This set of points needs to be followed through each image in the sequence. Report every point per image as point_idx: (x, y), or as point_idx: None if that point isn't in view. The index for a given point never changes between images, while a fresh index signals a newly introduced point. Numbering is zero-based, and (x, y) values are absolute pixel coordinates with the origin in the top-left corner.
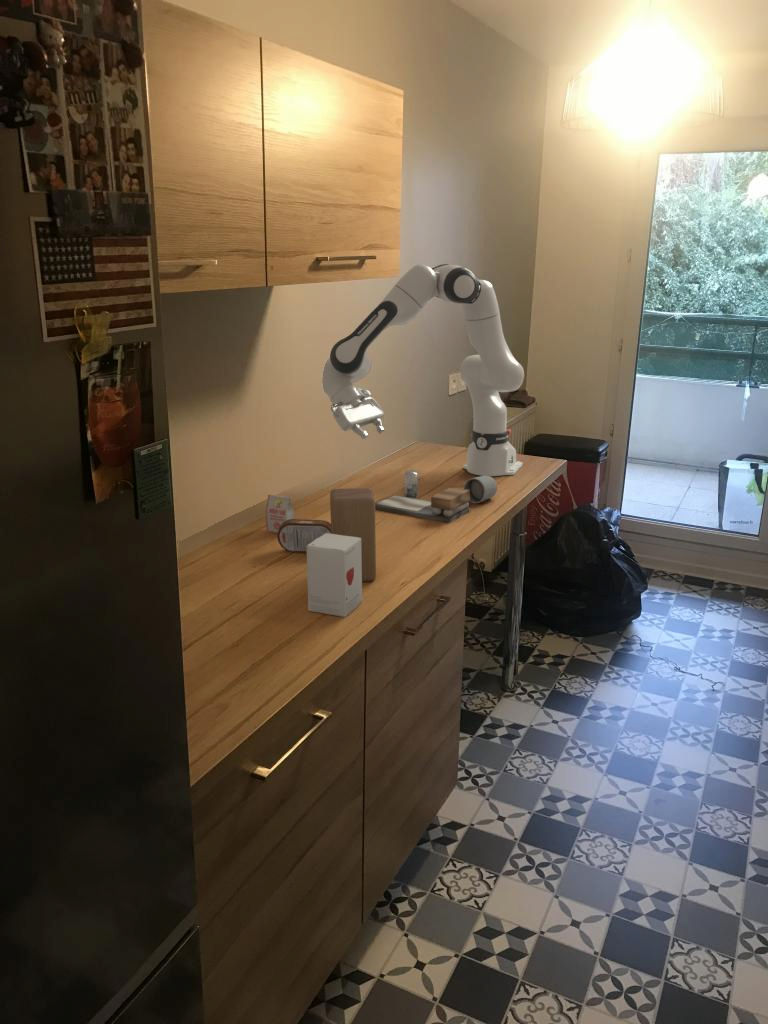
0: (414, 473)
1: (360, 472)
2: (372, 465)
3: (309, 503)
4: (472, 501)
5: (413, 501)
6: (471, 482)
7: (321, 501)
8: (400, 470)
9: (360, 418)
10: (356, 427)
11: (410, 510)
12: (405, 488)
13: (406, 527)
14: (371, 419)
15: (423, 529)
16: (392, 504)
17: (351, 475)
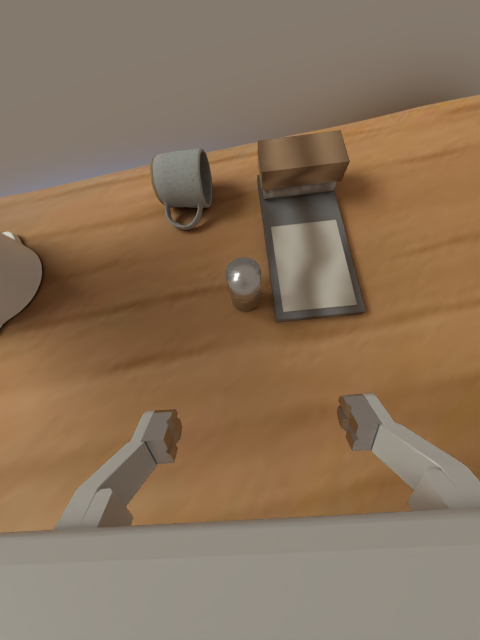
0: (249, 259)
1: None
2: None
3: None
4: (209, 200)
5: (293, 257)
6: (182, 187)
7: None
8: (57, 461)
9: (429, 572)
10: (472, 482)
11: (339, 232)
12: (258, 296)
13: (395, 205)
14: (197, 522)
15: (381, 182)
16: (337, 276)
17: None
